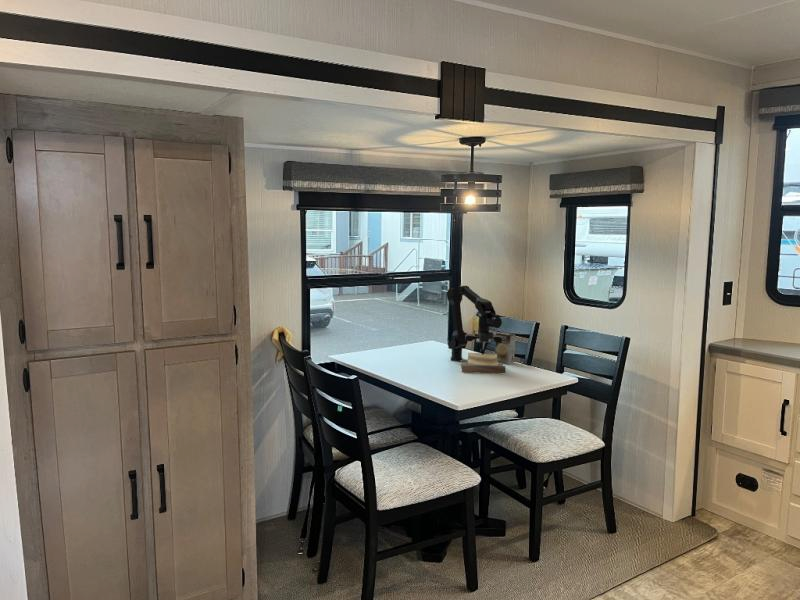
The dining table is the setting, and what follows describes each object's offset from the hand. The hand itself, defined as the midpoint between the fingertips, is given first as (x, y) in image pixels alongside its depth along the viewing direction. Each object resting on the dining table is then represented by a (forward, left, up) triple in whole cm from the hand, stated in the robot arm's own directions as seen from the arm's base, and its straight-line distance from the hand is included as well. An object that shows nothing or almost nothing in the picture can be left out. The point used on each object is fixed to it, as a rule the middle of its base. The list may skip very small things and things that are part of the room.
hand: (482, 354), depth 312 cm
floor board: (+3, 0, -7) cm, 8 cm away
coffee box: (-14, +13, -7) cm, 21 cm away
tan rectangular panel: (+2, 0, -3) cm, 4 cm away
